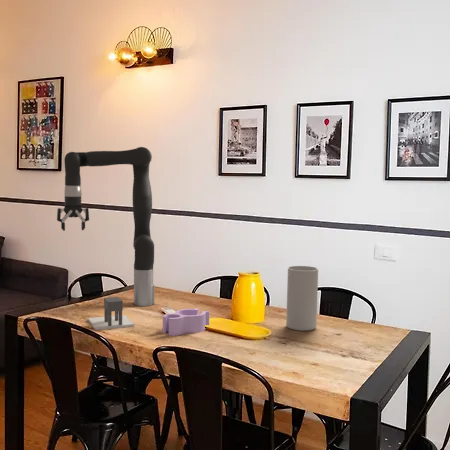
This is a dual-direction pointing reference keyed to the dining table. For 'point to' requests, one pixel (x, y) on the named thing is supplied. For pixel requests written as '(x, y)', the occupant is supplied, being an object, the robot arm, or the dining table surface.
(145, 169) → the robot arm
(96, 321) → the grey mat
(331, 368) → the dining table surface
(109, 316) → the charcoal stool
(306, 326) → the cylinder vase
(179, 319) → the clip
